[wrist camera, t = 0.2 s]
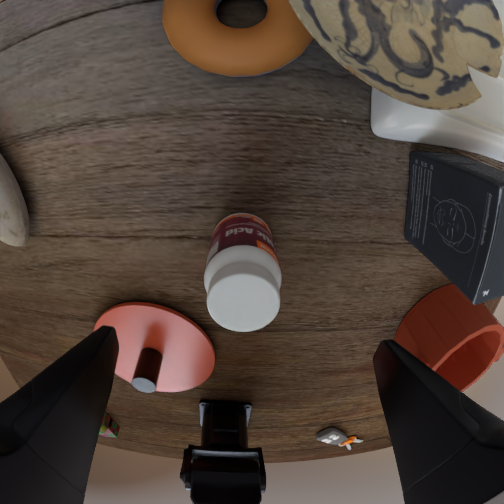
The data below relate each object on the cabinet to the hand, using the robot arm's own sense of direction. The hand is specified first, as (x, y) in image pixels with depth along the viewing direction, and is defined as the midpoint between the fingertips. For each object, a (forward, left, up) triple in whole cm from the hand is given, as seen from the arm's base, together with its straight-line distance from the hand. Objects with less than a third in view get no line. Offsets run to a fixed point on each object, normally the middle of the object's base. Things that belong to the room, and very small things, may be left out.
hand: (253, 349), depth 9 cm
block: (-36, +19, -15) cm, 43 cm away
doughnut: (+14, +2, -10) cm, 17 cm away
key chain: (-38, -20, -15) cm, 45 cm away
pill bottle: (-3, 0, -15) cm, 15 cm away
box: (+3, -16, -15) cm, 22 cm away
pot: (-12, -24, -15) cm, 31 cm away
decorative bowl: (+12, -2, -9) cm, 15 cm away
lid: (-16, +8, -14) cm, 23 cm away
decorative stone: (+2, +24, -15) cm, 28 cm away
